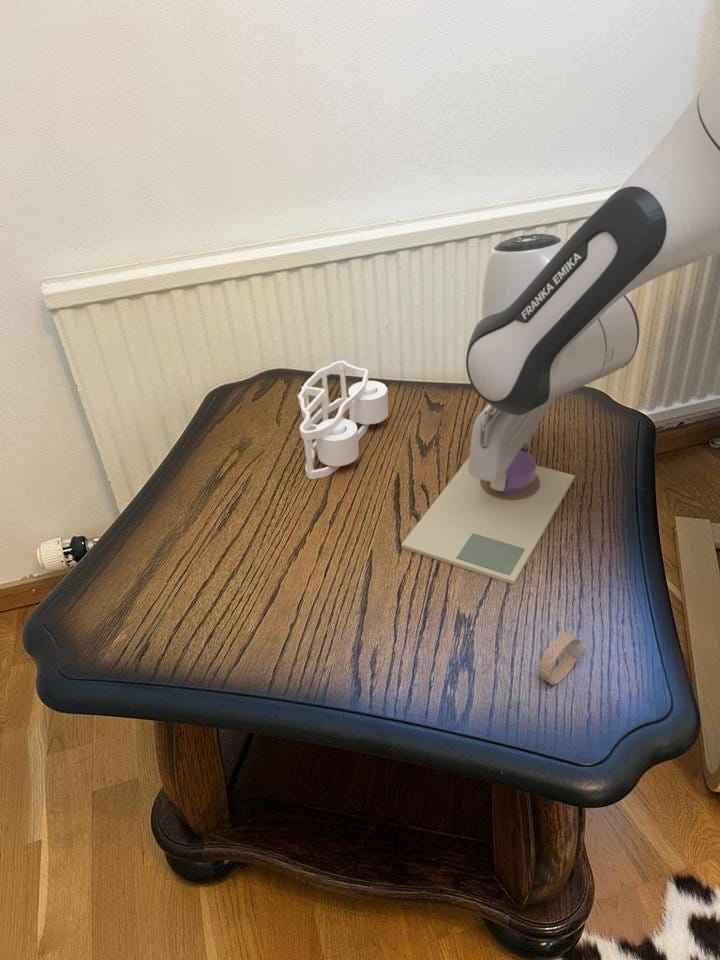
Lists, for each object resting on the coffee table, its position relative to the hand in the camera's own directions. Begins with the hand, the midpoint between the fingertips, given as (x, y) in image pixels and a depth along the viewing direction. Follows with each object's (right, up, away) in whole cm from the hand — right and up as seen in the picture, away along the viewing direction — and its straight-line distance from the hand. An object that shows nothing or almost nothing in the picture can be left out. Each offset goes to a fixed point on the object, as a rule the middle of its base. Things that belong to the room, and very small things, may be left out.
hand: (510, 470), depth 97 cm
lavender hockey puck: (0, -1, +1) cm, 2 cm away
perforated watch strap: (0, -20, -23) cm, 31 cm away
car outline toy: (-22, +4, +13) cm, 26 cm away
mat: (-3, -5, -3) cm, 6 cm away
